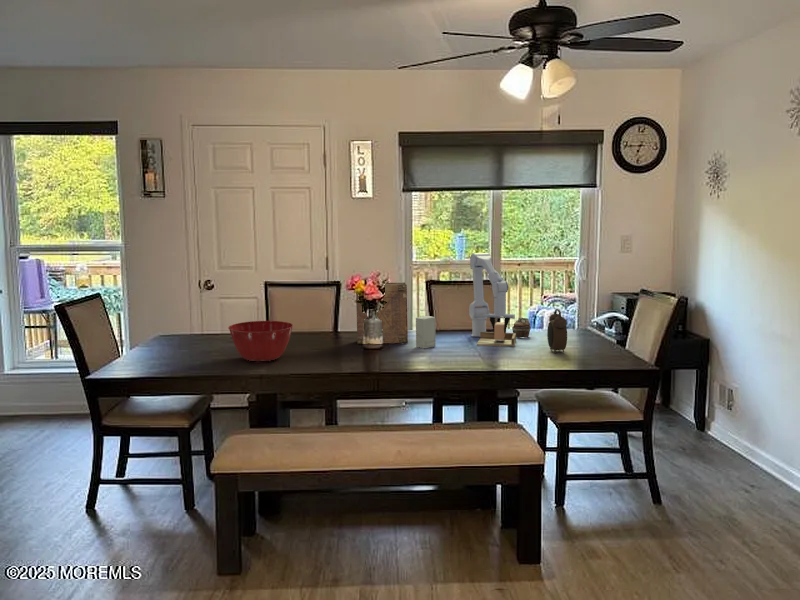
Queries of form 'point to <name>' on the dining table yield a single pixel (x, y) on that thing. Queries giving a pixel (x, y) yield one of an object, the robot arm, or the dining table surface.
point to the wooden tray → (489, 340)
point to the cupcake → (521, 327)
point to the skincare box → (425, 332)
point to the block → (499, 330)
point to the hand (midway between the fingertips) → (499, 332)
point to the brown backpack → (557, 332)
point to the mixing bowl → (261, 339)
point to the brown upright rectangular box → (389, 315)
